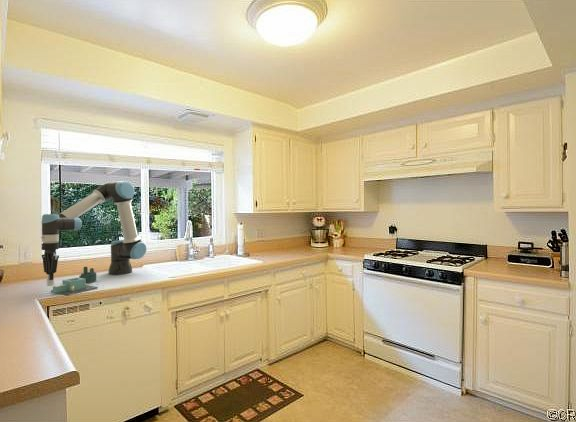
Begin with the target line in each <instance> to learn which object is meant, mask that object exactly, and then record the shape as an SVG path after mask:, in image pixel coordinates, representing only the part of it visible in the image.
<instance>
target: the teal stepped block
mask: <svg viewBox="0 0 576 422" xmlns="http://www.w3.org/2000/svg"><path fill="white" fill-rule="evenodd" d="M86 285H87V283H86V279H84V278H79V276H78V277H73V278H67V279H62V283H61V284H59V285H53V286H52V290H53V292H52V293H53V294H54V293H55V294H59V293H58V292H63V291H67V290H69V291H71V286H74V290H77V289H82V288H86Z"/></svg>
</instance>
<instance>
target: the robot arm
mask: <svg viewBox="0 0 576 422" xmlns="http://www.w3.org/2000/svg"><path fill="white" fill-rule="evenodd" d="M91 192H92V193H90V194H89V195H87V196H85V197H84V198H83V199H81V200H79V201H77V202H76V203H74V204H73V205H71V206H69V207H68V208H67V209H65V210H63V211H62V212H60V213H57V214H56V213H44V214H42V217H41V222H40V223H41V237H40V239H41V242H42V243H41V250H42V251H43V252H44V254H41V258H42V266H43V272H44V273H45V275H46V287H51V286H52V287H53V286H55V285H54V282H55V281H54V278H55V277H54V276H55V275H54V274H56V273H57V270H58V269H57V268H58V262H59V259H60V256H59V255H57V250H59V249H60V247H59V244H60V242H59V239H60V235H59V234H60V233H59V232H64V231H65V232H66V231H67V232H68V231H69V232H71V231H79V230H80V229H81V228H82V226H83V221H82V219H81V218H80V216H83V214H85V213H87V212H88V211H90V210H91V209H93V208H94V207H96V206H97V205H99V204H102V203H105V202H107V201H109V200H112V201H113V204H115V205H116V207H117V211H118V212H117V213H118V217H119V221H120V226H121V230H122V235H123V239H120V240H113V241H111V243H110V264H109V268H108V270H107V271H108V274H109V275H122V274H123V275H125V274H130V273H133V267H132V264H131V261H130V259H131V260H140V259H142V258H143V257H145V255H146V252H147V245H146V244H145V243H144V242H142V238H141V236H138V231H137V230H138V229H137V227H136V221H135V216H134V211H133V207H132V201H133V197H134V195H135V193H136V191H135V187H134V185H133V184H132V183H130V182H129V181H125V180H120V181H119V180H118V181H109V182H106V183H103V184H102V185H99V187H97V188H95V189H94V190H92V191H91Z"/></svg>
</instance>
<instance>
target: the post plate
mask: <svg viewBox="0 0 576 422" xmlns="http://www.w3.org/2000/svg"><path fill="white" fill-rule="evenodd" d="M97 289H98V286H95V285H89V284H86V288H82V289H77V290H74V286H71V291H69V290H67V291H63V292H58V293H57V294H60V295H63V296H70V295H75V294H79V293H83V292H89V291H92V290H97ZM50 292H51V293H54V292H53V289H50Z"/></svg>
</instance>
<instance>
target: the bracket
mask: <svg viewBox="0 0 576 422" xmlns="http://www.w3.org/2000/svg"><path fill="white" fill-rule="evenodd" d="M78 278H84V279H86V284H91V283H96V282H97V272H96V271H95V269H94V268H93V267H91V268H89V272H88V267H87V266H84V267H83V272H82V273H80V275H79V276H78Z"/></svg>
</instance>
